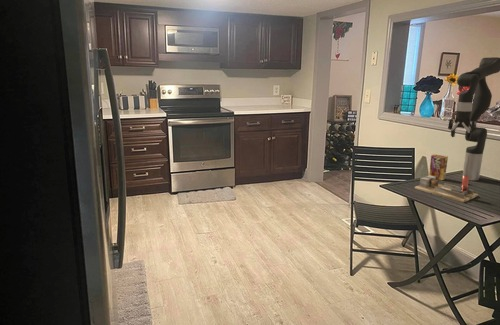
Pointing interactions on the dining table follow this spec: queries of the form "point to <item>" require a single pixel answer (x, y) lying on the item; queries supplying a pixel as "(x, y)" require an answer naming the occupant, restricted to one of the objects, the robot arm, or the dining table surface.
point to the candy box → (438, 166)
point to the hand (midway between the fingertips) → (460, 137)
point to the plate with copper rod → (463, 186)
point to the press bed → (444, 190)
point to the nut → (434, 183)
